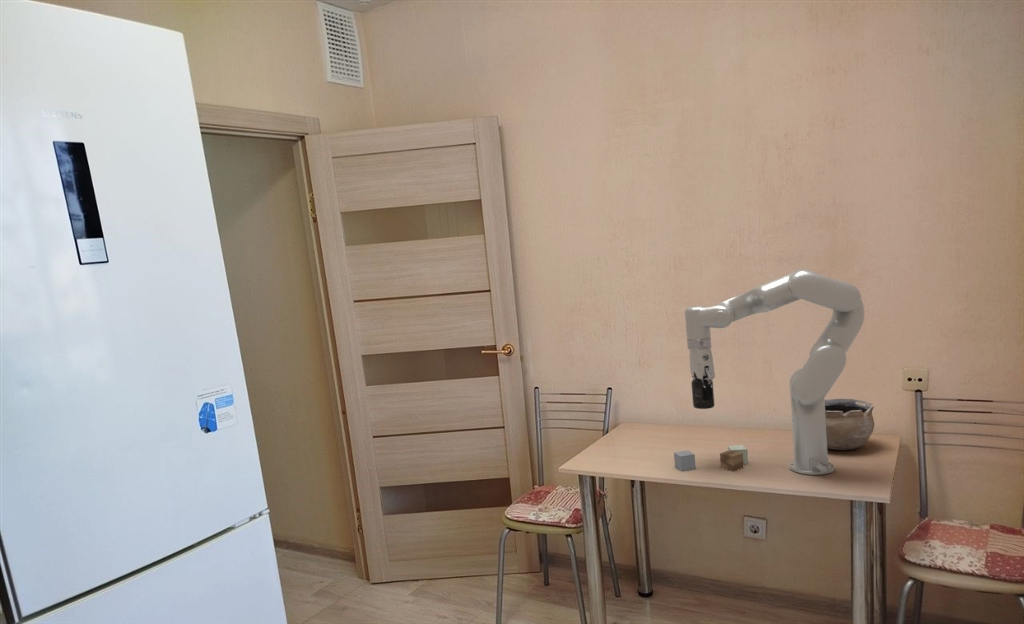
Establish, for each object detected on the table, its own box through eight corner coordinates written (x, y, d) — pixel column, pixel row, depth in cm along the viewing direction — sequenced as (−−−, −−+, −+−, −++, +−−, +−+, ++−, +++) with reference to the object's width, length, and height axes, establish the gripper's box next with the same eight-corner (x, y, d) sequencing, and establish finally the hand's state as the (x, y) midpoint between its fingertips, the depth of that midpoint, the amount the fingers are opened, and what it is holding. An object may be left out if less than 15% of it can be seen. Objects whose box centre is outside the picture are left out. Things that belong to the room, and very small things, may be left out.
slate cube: (695, 469, 210) (694, 454, 209) (681, 471, 209) (680, 456, 209) (688, 464, 215) (687, 450, 214) (675, 467, 214) (673, 452, 213)
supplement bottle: (719, 407, 209) (716, 370, 208) (702, 410, 206) (699, 373, 205) (705, 403, 215) (703, 368, 214) (688, 407, 213) (686, 371, 212)
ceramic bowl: (835, 460, 206) (833, 414, 205) (790, 444, 227) (787, 402, 226) (891, 449, 212) (889, 405, 211) (841, 435, 233) (839, 394, 232)
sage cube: (748, 464, 210) (747, 449, 210) (732, 465, 211) (731, 450, 210) (743, 459, 215) (743, 445, 215) (728, 460, 216) (727, 446, 215)
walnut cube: (743, 468, 207) (742, 452, 206) (733, 471, 204) (732, 456, 204) (731, 464, 211) (730, 449, 211) (720, 468, 208) (719, 453, 208)
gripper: (720, 345, 201) (725, 401, 202) (700, 340, 218) (704, 391, 219) (697, 347, 200) (702, 403, 202) (679, 342, 218) (683, 394, 219)
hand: (703, 397), depth 210 cm, fingers closed on supplement bottle, 6 cm apart
